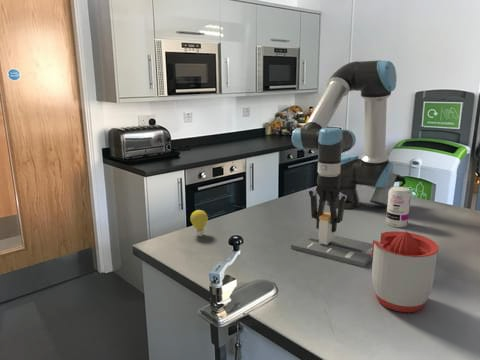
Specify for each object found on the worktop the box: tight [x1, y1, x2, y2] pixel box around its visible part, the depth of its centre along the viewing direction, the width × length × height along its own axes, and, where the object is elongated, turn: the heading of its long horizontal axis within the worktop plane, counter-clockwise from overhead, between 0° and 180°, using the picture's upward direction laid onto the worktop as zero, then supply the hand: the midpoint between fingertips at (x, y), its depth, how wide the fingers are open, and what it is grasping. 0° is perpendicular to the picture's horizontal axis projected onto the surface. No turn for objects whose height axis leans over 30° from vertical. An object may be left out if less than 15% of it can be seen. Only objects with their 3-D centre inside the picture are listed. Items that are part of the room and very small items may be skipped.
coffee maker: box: [369, 172, 407, 207], centre depth 181 cm, size 15×9×18 cm, turn 71°
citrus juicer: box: [366, 230, 440, 314], centre depth 104 cm, size 16×17×20 cm
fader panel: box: [290, 229, 373, 268], centre depth 138 cm, size 16×26×2 cm, turn 55°
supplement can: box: [385, 185, 412, 229], centre depth 158 cm, size 8×8×15 cm
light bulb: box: [189, 209, 209, 237], centre depth 151 cm, size 7×7×10 cm
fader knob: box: [318, 211, 331, 245], centre depth 139 cm, size 5×3×10 cm, turn 145°
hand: (325, 238), depth 140 cm, fingers closed on fader knob, 3 cm apart
